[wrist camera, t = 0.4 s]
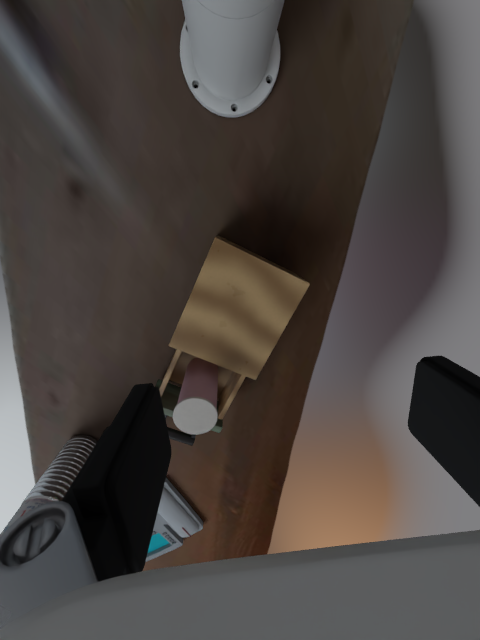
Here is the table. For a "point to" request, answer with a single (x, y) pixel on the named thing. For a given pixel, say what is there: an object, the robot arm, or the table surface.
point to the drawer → (170, 393)
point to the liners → (197, 398)
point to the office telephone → (172, 522)
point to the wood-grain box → (237, 309)
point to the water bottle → (58, 475)
